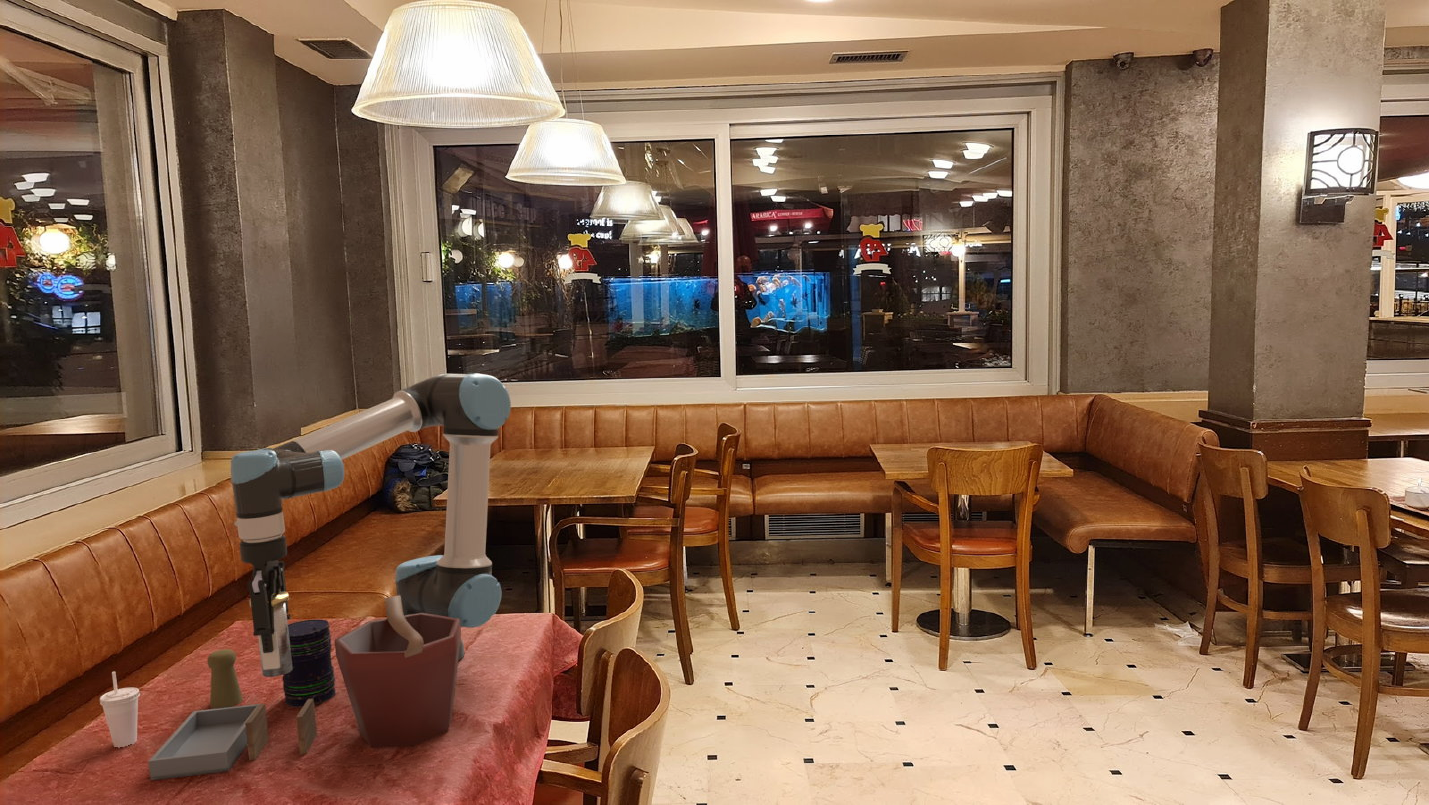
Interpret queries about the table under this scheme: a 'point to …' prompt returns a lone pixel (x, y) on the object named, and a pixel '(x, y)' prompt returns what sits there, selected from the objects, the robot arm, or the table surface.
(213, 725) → the tray
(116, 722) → the smoothie
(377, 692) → the bucket
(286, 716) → the table surface
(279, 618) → the silver metal cylinder
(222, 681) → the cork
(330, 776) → the table surface
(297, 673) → the storage jar
